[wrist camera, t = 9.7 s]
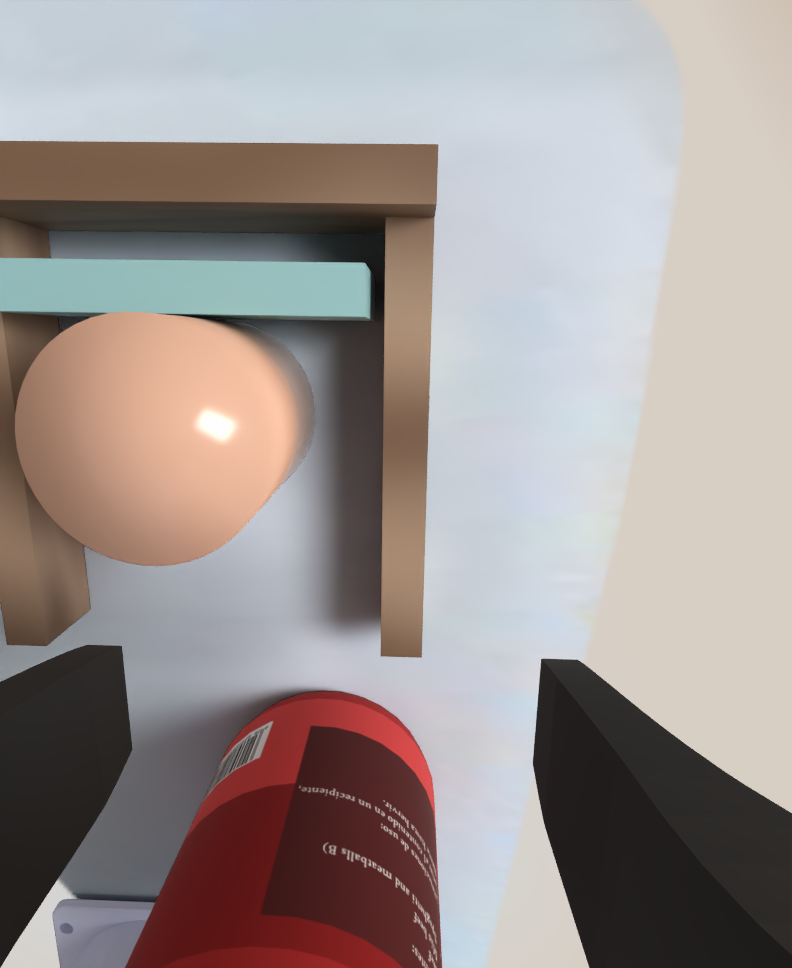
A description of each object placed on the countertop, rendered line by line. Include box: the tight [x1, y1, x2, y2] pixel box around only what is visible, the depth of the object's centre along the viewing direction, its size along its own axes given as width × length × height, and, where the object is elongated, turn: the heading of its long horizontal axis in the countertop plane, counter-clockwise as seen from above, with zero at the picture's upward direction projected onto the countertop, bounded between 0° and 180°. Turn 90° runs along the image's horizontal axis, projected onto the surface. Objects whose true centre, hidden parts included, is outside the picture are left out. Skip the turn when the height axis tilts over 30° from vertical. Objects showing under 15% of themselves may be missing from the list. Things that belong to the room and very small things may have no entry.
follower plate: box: [0, 258, 375, 321], centre depth 16 cm, size 1×9×4 cm, turn 89°
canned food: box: [125, 691, 442, 968], centre depth 16 cm, size 8×8×11 cm
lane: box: [0, 141, 438, 657], centre depth 17 cm, size 13×12×4 cm
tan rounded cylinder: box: [15, 312, 315, 566], centre depth 16 cm, size 6×6×6 cm
